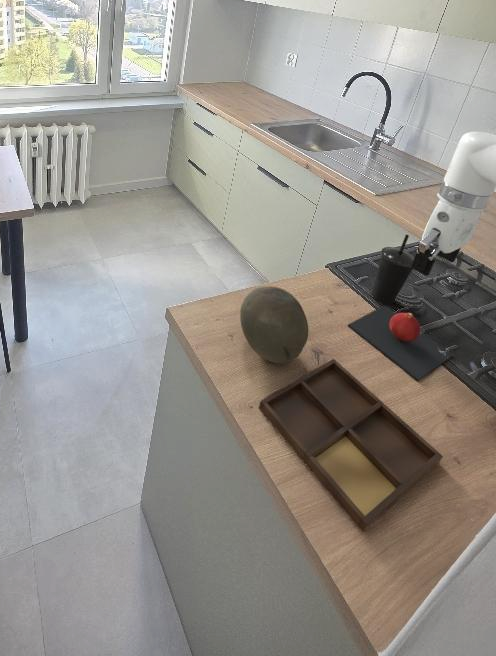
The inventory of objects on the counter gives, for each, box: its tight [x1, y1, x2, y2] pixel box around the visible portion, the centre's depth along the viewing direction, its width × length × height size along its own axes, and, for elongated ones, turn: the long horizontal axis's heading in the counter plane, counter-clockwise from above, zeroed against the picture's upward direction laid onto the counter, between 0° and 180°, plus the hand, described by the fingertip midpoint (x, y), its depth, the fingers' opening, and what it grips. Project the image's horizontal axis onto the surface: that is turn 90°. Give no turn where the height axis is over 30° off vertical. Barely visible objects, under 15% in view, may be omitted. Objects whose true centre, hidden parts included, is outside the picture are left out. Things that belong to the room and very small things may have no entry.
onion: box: [389, 312, 421, 342], centre depth 95 cm, size 6×6×8 cm
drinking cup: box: [371, 234, 415, 306], centre depth 105 cm, size 8×8×20 cm
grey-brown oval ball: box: [239, 285, 309, 364], centre depth 90 cm, size 14×14×15 cm
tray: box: [258, 358, 444, 532], centre depth 76 cm, size 21×21×2 cm
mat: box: [347, 305, 454, 382], centre depth 97 cm, size 16×14×1 cm
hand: (432, 264), depth 88 cm, fingers open, 9 cm apart
